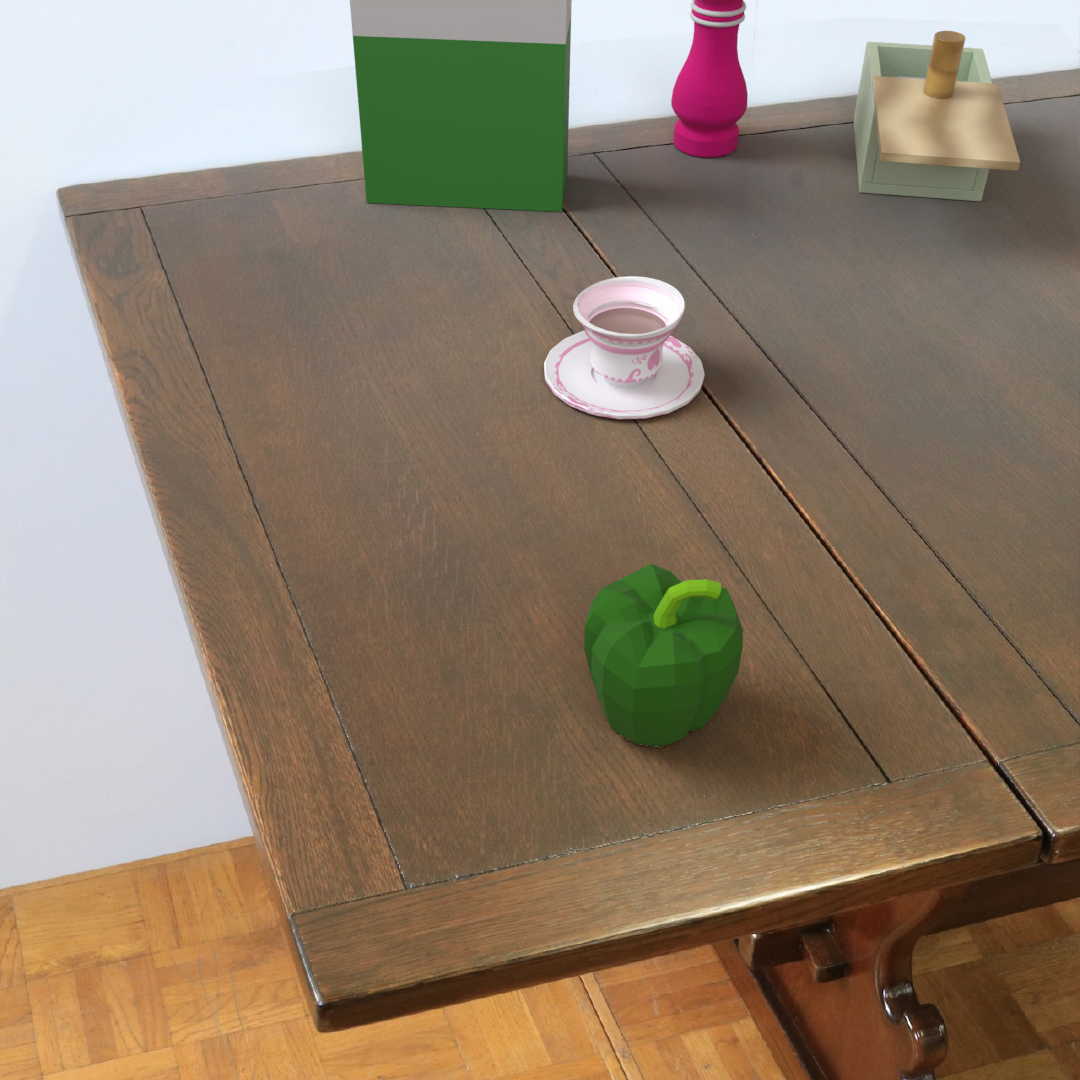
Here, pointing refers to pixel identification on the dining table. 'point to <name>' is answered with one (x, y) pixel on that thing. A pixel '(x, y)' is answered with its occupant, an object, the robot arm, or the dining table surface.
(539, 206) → the hardback book
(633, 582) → the bell pepper
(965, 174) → the box
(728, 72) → the pepper mill
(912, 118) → the wooden box lid
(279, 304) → the dining table surface
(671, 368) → the teacup
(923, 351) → the dining table surface
